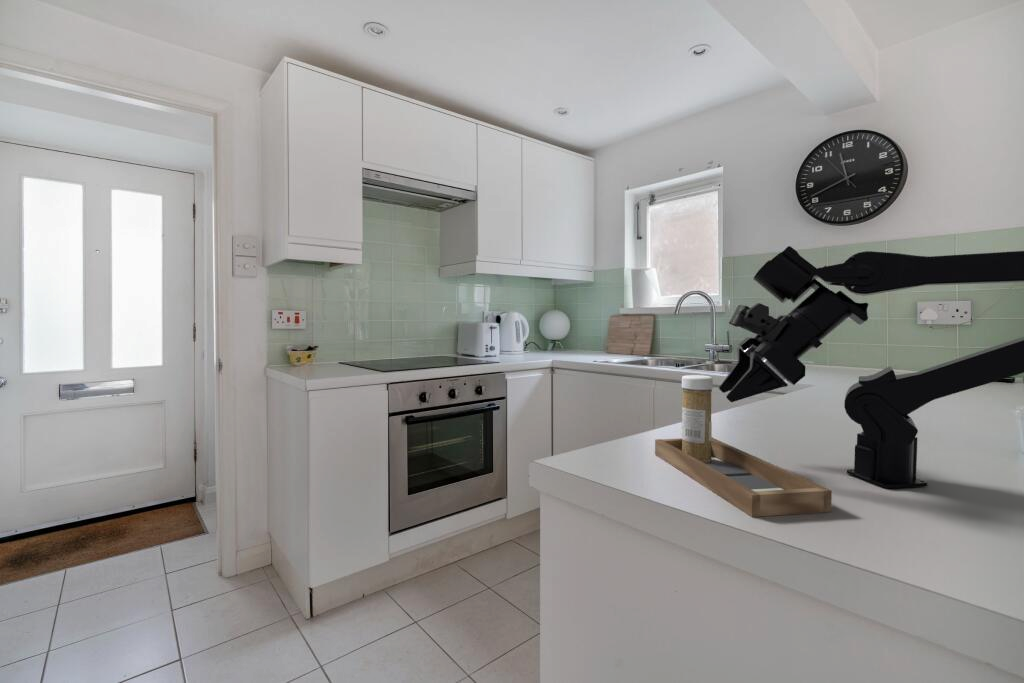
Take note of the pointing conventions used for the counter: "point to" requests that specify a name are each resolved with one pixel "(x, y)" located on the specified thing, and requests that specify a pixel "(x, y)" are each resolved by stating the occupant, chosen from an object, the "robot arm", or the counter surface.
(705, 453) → the spice jar
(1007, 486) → the counter surface
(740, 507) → the box
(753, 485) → the mats
